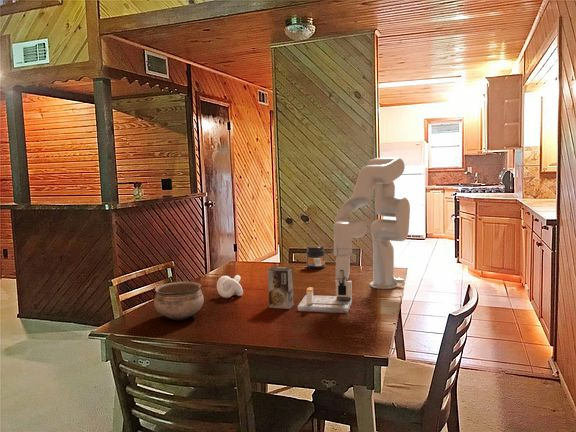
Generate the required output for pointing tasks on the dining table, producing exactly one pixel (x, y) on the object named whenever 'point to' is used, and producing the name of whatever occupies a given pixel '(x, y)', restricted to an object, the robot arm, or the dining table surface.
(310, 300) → the fader tab
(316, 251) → the supplement container
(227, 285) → the white rounded piece
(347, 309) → the console
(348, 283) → the dial
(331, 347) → the dining table surface
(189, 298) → the cooking pot
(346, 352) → the dining table surface
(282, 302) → the coffee box
